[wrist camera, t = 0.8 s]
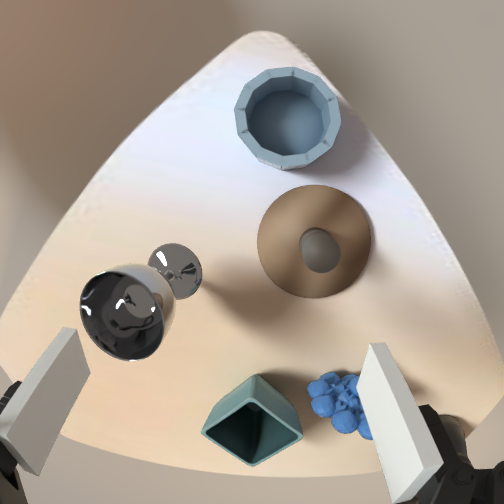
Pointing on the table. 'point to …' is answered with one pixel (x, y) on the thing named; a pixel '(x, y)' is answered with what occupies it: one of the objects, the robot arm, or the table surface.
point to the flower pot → (253, 422)
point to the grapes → (340, 403)
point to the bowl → (287, 117)
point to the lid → (313, 241)
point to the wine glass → (138, 301)
